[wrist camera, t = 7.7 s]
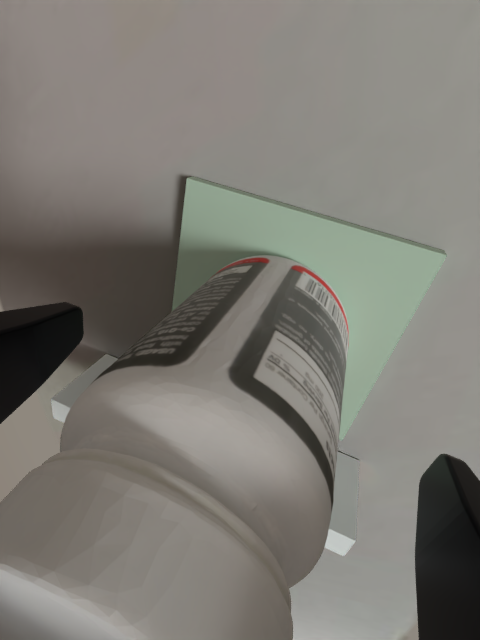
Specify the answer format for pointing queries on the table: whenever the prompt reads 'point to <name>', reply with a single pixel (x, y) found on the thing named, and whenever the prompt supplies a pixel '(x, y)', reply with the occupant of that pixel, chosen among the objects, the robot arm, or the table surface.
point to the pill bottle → (188, 473)
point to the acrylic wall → (345, 475)
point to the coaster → (312, 268)
